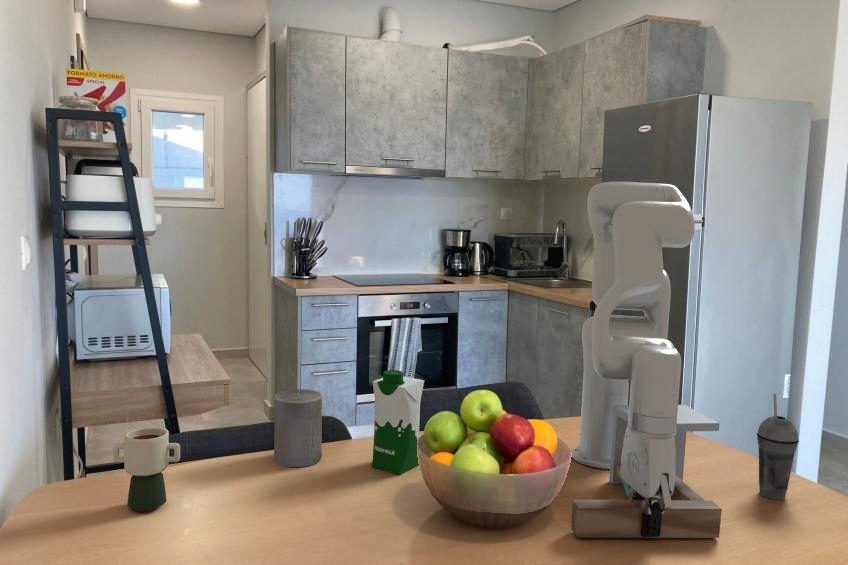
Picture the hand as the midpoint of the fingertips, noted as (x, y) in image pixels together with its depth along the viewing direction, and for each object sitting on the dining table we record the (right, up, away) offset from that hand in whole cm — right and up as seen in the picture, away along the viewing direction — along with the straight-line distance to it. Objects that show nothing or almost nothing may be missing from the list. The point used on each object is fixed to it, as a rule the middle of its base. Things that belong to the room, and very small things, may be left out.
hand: (644, 528), depth 114 cm
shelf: (+9, 0, +19) cm, 21 cm away
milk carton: (-42, +3, +27) cm, 50 cm away
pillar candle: (-63, +4, +29) cm, 69 cm away
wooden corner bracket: (-1, 0, +9) cm, 9 cm away
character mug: (-84, +2, +4) cm, 84 cm away
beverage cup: (+31, -1, +20) cm, 37 cm away
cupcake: (+4, 0, +17) cm, 17 cm away
